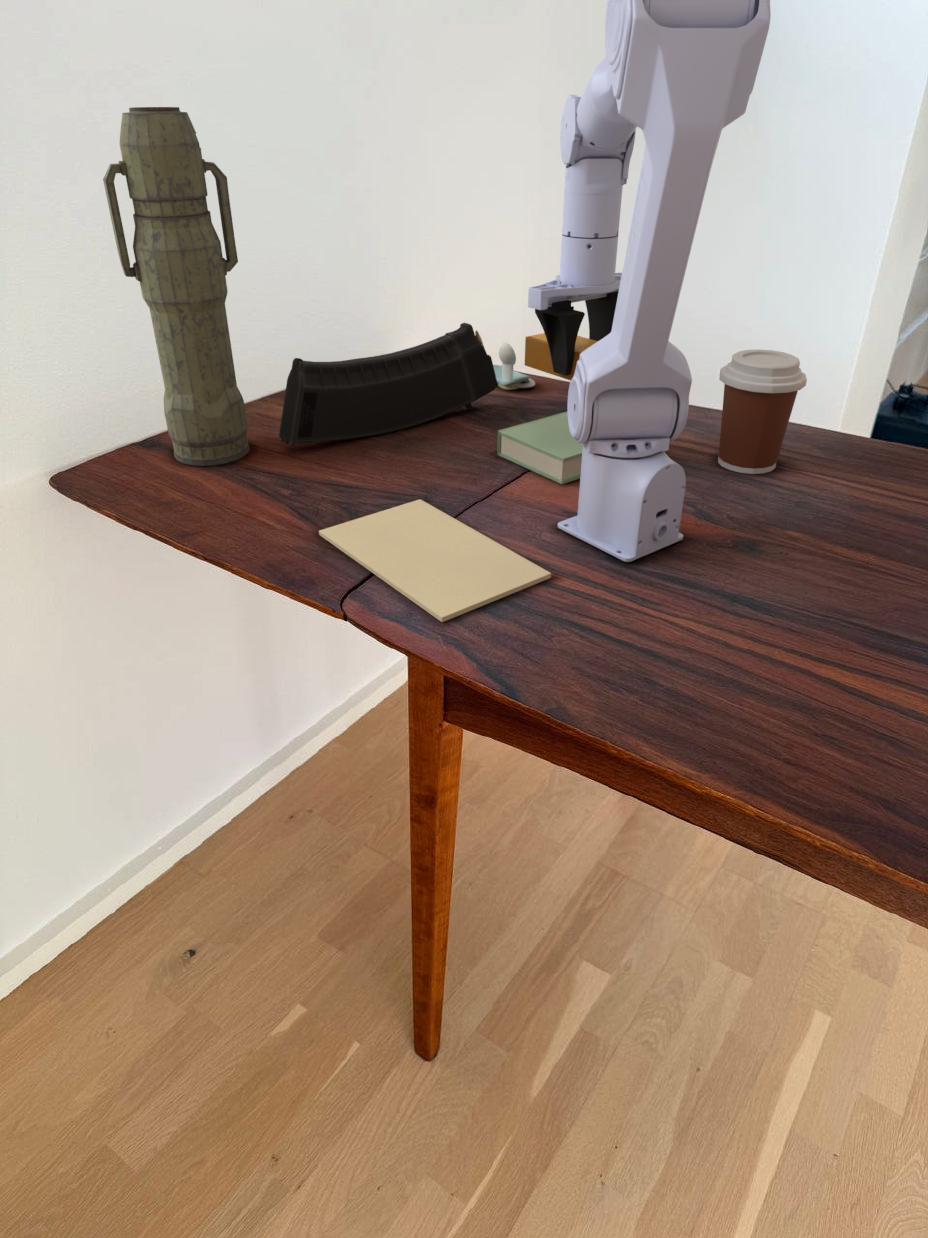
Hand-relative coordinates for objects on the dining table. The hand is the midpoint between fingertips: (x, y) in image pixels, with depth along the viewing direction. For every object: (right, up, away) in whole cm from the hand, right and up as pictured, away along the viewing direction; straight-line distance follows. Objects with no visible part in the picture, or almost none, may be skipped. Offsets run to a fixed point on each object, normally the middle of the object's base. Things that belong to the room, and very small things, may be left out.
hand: (580, 368), depth 94 cm
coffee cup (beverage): (+20, -10, +4) cm, 22 cm away
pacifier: (-6, +6, +29) cm, 30 cm away
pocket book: (0, -1, 0) cm, 1 cm away
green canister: (-43, -8, +7) cm, 44 cm away
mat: (-16, -22, -15) cm, 31 cm away
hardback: (+1, -8, +7) cm, 10 cm away
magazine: (-22, -3, +15) cm, 26 cm away
